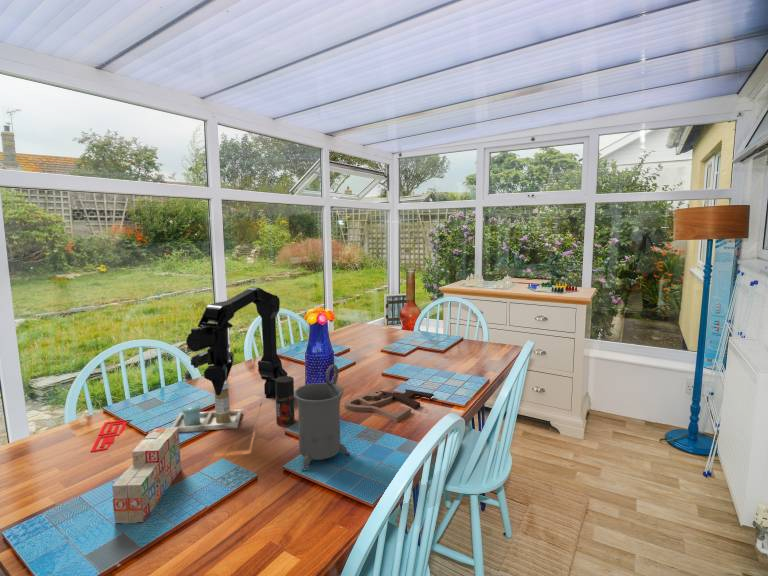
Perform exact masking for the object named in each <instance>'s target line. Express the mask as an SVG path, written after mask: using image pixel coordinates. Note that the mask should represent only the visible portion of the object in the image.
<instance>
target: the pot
mask: <svg viewBox="0 0 768 576" xmlns="http://www.w3.org/2000/svg"><path fill="white" fill-rule="evenodd" d="M181 410H182V412H183V413H184V426H193V425H199V424H200V412H201V405H200V404H198V403H197V404H196V403H193V404H187V405H185V406H183V407H182V408H181Z"/></svg>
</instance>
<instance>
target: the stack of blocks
mask: <svg viewBox="0 0 768 576" xmlns="http://www.w3.org/2000/svg"><path fill="white" fill-rule="evenodd" d="M180 443H181V442H180V432H179V428H171V427H158V428H156V427H155V428H153V429H152V430H151V431H150V432H149V433H148V434H147V435H146V436H145V437H144V438H143V439H142V440H141V441H140V442H139V443H138V445H136V447H135V448H134V449H133V450H132V451H131V456H132V464H131V465H130V466H128V468H127V470H125V471H124V472H123V473H122V475H120V476H119V478H117V480H116V481H115V482H114V483H113V485H112V486H111V487H112V489H111V490H112V498H113V499H112V505H113V506H112V507H113V516H114V524H115V523H123V524H138V523H137V522H143V523H144V522H145V521H146V519H147V518H148V517H149V515H150V514H151V513H152V511H153V510H154V508H155V507H156V506H157V505H158V503H159V502H160V500H161V499H162V497H163V496H162V495H164V494H165V493H166V491H167V490H168V488H169V487H170V486H171V484H172V483H173V482H174V480H175V479H176V477H177V476H178V475H179V473H180V472H181V470H182V461H181V445H180ZM166 489H167V490H166ZM164 492H165V493H164ZM163 493H164V494H163ZM161 496H162V497H161ZM160 498H161V499H160ZM159 499H160V500H159ZM150 512H151V513H150ZM146 517H147V518H146ZM144 520H145V521H144Z"/></svg>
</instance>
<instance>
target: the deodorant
mask: <svg viewBox="0 0 768 576" xmlns="http://www.w3.org/2000/svg"><path fill="white" fill-rule="evenodd" d="M294 382H295V380H294V377H293V376H290V375H287V376H282V377H278V378H276V379H275V389H276V397H275V414H276V419H275V420H276V424H277V426H280V427H288V426H292V425H294V424H295V421H296V420H295V415H296V414H295V397H294V392H295V383H294Z"/></svg>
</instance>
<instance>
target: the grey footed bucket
mask: <svg viewBox="0 0 768 576" xmlns="http://www.w3.org/2000/svg"><path fill="white" fill-rule="evenodd" d="M332 369H334V373H335V374H334V375H332V378H331V380H330V373H331V370H332ZM338 378H339V368H338V365H336V364H330V365H329V367H328V368H327V369H326V371H325V382H316V383H315V382H313V383H308V384H305V385H302V386H299V387H298V388H297V389H294V399H295V400H296V403H297V410H298V414H297V415H298V442H299V443H298V444H299V445H298V447H299V454H300V455H301V456H302V457H304V459H303V465H302V469H303V470H304V469H307V468H308V467H309V464H310V463H311V461H313V460H317V461H318V460H319V461H320V460H327V459H330V458H332V457H334V456H336V455H337V454H338V453H339V452H342V453H343V454H345V455H346V454H349V455H351V453H350V451H348V448H347V446H346V445H344V444H343V443H341V414H340V412H341V411H340V409H341V399H342V396H343V394H344V389H343V387H341V386H340V385H338V384H337V382H338ZM302 469H301V470H302ZM303 470H302V471H303Z"/></svg>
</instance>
